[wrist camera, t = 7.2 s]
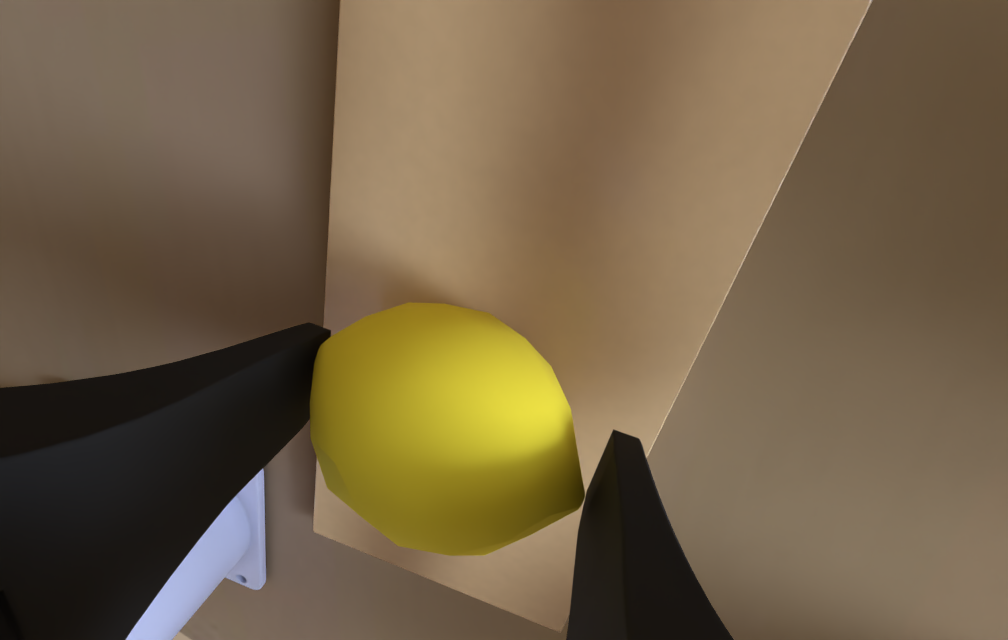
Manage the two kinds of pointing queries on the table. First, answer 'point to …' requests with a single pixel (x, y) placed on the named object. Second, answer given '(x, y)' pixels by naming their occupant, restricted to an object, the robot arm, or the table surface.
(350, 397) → the lemon
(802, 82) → the birch board
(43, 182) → the table surface
